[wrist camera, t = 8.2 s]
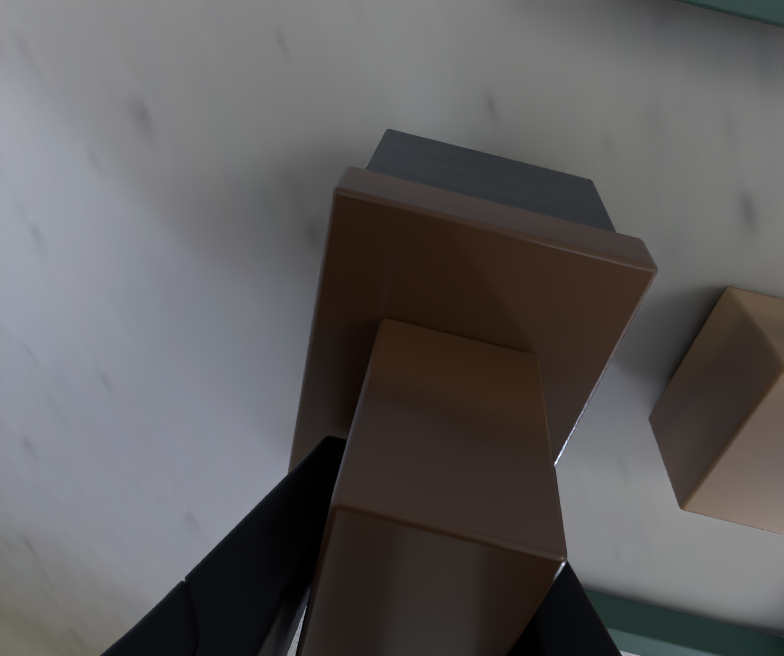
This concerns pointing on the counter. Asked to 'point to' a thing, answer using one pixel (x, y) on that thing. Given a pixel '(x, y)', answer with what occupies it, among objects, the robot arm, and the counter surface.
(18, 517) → the counter surface
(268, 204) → the counter surface
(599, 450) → the counter surface
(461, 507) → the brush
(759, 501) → the cork block
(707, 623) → the frame
